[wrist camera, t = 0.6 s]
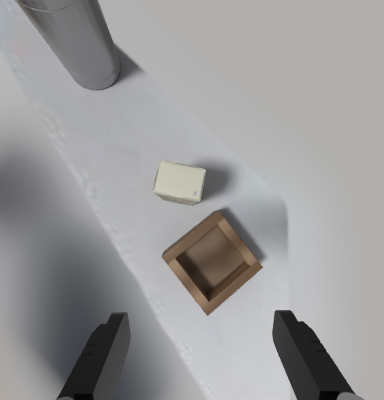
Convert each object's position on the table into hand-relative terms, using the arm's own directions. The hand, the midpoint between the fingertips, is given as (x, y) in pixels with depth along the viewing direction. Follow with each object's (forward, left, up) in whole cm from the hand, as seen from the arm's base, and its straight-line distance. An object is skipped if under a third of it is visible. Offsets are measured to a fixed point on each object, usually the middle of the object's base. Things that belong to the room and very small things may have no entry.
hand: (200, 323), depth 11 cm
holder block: (+5, +3, -25) cm, 26 cm away
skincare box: (-8, +6, -26) cm, 27 cm away
